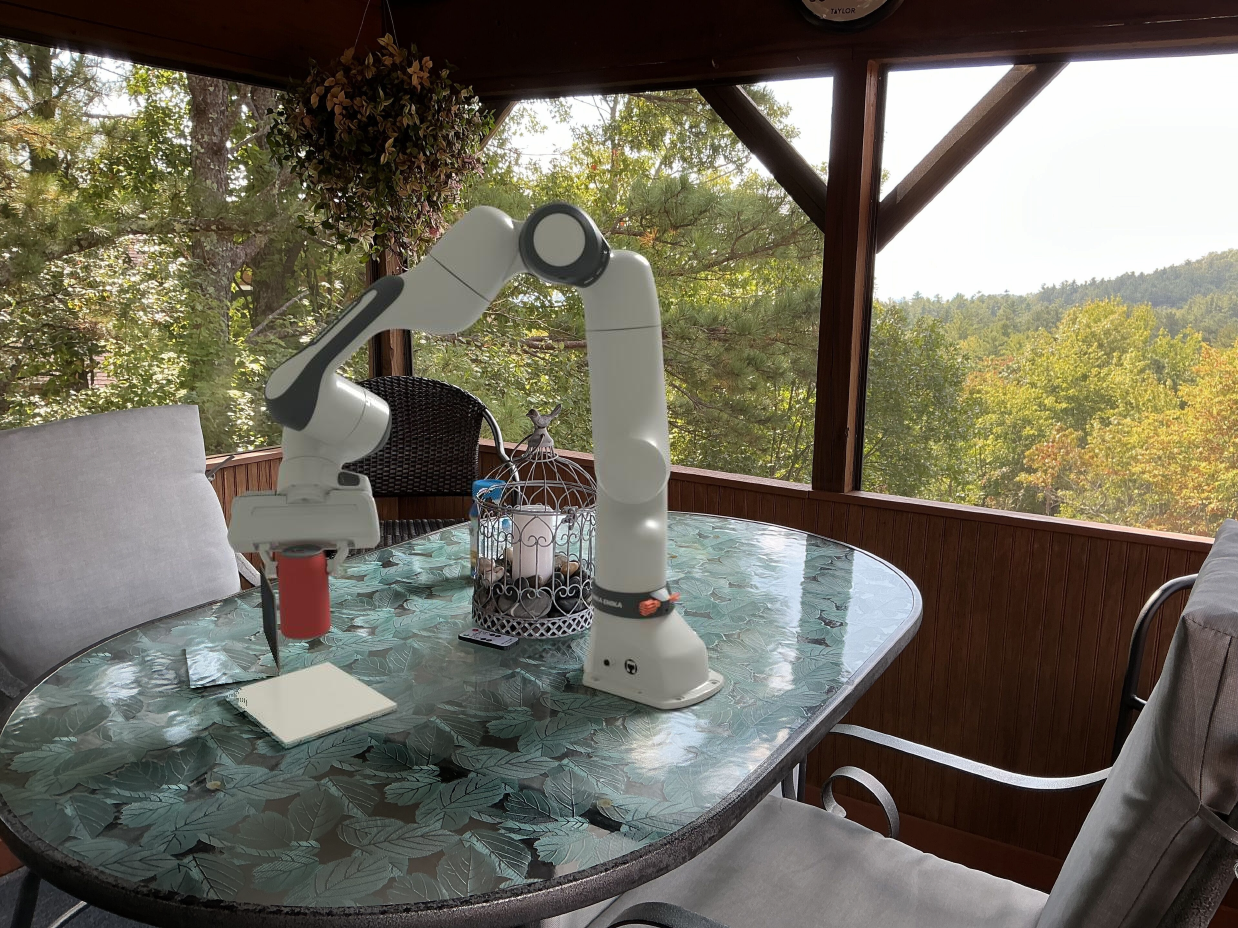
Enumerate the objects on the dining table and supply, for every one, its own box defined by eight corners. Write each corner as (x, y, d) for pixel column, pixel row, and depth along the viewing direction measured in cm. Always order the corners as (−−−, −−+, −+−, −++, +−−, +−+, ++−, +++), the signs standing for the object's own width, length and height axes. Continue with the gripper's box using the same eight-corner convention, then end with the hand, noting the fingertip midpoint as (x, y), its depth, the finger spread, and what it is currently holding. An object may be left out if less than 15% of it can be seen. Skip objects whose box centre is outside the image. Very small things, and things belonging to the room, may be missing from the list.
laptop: (184, 649, 146) (178, 572, 144) (266, 637, 152) (261, 563, 149) (190, 692, 130) (183, 607, 128) (281, 676, 136) (276, 595, 134)
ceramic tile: (397, 710, 125) (396, 703, 125) (286, 749, 114) (285, 742, 114) (328, 667, 139) (328, 661, 139) (223, 699, 128) (223, 692, 128)
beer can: (312, 621, 129) (308, 540, 127) (340, 631, 125) (337, 548, 123) (271, 634, 124) (266, 550, 122) (299, 645, 120) (294, 559, 118)
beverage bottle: (503, 584, 180) (502, 487, 176) (463, 581, 182) (461, 485, 178) (516, 572, 188) (515, 479, 184) (478, 569, 190) (476, 477, 186)
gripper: (228, 479, 126) (216, 567, 118) (379, 476, 129) (376, 560, 122) (237, 503, 131) (226, 589, 123) (382, 499, 135) (380, 582, 127)
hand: (302, 575), depth 122 cm, fingers closed on beer can, 7 cm apart
